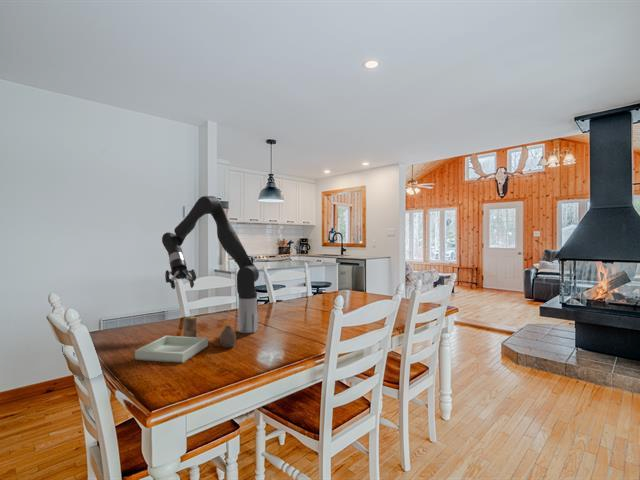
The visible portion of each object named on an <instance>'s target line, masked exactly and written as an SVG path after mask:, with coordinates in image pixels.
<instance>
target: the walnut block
mask: <svg viewBox="0 0 640 480" xmlns="http://www.w3.org/2000/svg"><path fill="white" fill-rule="evenodd" d="M182 320H183V322H182V323H183V325H182V326H183V327H182V328H183V330H182V332H183V336H182V337H197V317H196V316H194V315H191V316H185V317H183V319H182Z"/></svg>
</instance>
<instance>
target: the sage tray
mask: <svg viewBox="0 0 640 480" xmlns="http://www.w3.org/2000/svg"><path fill="white" fill-rule="evenodd" d="M208 341H209V338H208V337H197V336H196V337H183V336H178V335H176V336H175V335H164V336H163V337H160V338H158V339H156V340H154V341H152V342H150V343H148V344H146V345H144V346H141V347H139V348H138V349H136V350H134V353H135V354H134V360H137V361H150V362H152V361H153V362H163V363H164V362H165V363H166V362H167V363H180V364H182V363H185V362H186V361H188V360H190V359H191V358H192V357H194V356H195V355H196V354H199V352H201V351H203V350H204V349H205V348H207V347H209V345H208V344H209V342H208Z"/></svg>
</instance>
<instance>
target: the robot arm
mask: <svg viewBox="0 0 640 480" xmlns="http://www.w3.org/2000/svg"><path fill="white" fill-rule="evenodd" d="M208 214H209V215H211V216H212V219H214V221H215V224H216V233H217V240H218V241H219V243H220V245H221V246H222V248H223V250H224V251H225V253H227V254H228V255H229V256H230V258H232V259H233V260H234V262H235V264H237V266H238V268H239V269H238V270H237V273H236V291H237V294H238V296H237V297H238V299H237V301H238V302H237V303H238V304H237V305H238V313H237V315H238V316H237V317H238V318H237V319H238V320H237V324H238V325H237V326H238V327H237V328H238V329H237V332H239V334H240V333H241V334H254V333H256V332H257V331H258V330H259V311H257V309H258V304H257V303H258V293H257V291H256V289H255V288H256V287H255V283H256V282H257V281H258V280H259V278H260V277H259V276H260V272H259V270H258V268H257V266H256V265H255V264H254V263H253V261H252V260H251V258H250V257H249V255H248V253H247V251H246V250H245V247H244V245H243V244H242V242H241V240H240V238H239V236H238V234H237V232H236V231H235V229H234V227H233V226H232V224H231V222H230V221H229V219H228V217H227V214H226V212H225V210H224V207H223V205H222V203H221V201H220V199H219V198H218V197H216V196H213V195H203V196H200V197H199V198H198V199H197V201H195V203H194V205H193V206H192V208H191V210H190V211H189V212H188V213H187V215H186V216H185V218H183V220H181V222H179V223H178V225H177V226H176V227H175V228H174V233H173V232H170V231H169V232H165V233H164V234H162V236H161V243H162V245H163V247H164V249H165V250H166V252H167V255H168V260H169V261H168V262H169V266H170V269H171V270H166V271H165V273H164V276H165V283H167V284H168V283H169V284H170V287H171V289H172V290H175V289H176V284H175V281H176V279H177V280H184V279H185V280H186V281H188V282H189V285H190V288H191V289H192V288H193V287H194V286H195V283H194V282H195V281H196V280H197V274H196V271H195V270H194V269H193V268H192V269H191V270H188V267H187V263H186V259H185V256H184V253H183V250H182V249H183V248H182V247H181V246H182V245H183V243H184V241H185V239H186V237H187V236H188V235H190V233H192V231H193V230H194V229H195V227H196V224H197V222H198V221H199V220H200V219H201V217H203V216H204V215H208ZM170 276H172V277H171V278H170Z"/></svg>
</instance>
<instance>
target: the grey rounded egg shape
mask: <svg viewBox="0 0 640 480" xmlns="http://www.w3.org/2000/svg"><path fill="white" fill-rule="evenodd" d="M236 341H237V335H236V332H235V330H234V329H233V328H232V326H231V325H226V326H225V327H224V329H223V330H222V332H221V333H220V336H219V343H220V345H221V347H223V348H226V349H229V348H232V347H233V346H234V345H235V344H236Z"/></svg>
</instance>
